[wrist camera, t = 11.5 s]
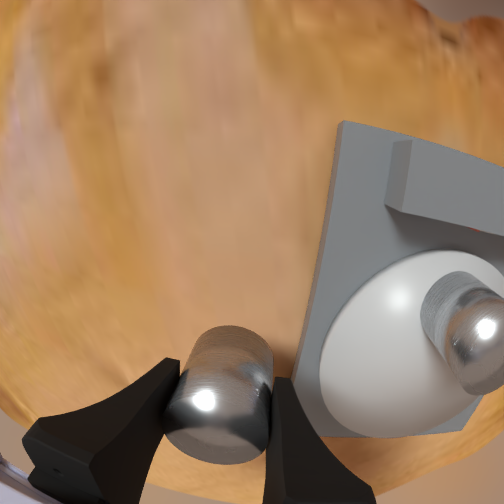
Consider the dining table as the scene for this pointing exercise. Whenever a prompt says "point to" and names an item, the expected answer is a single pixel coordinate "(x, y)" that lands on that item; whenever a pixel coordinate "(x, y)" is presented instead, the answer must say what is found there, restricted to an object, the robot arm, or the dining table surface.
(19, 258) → the dining table surface
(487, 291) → the cylinder
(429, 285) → the scale
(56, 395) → the dining table surface
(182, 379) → the cylinder
